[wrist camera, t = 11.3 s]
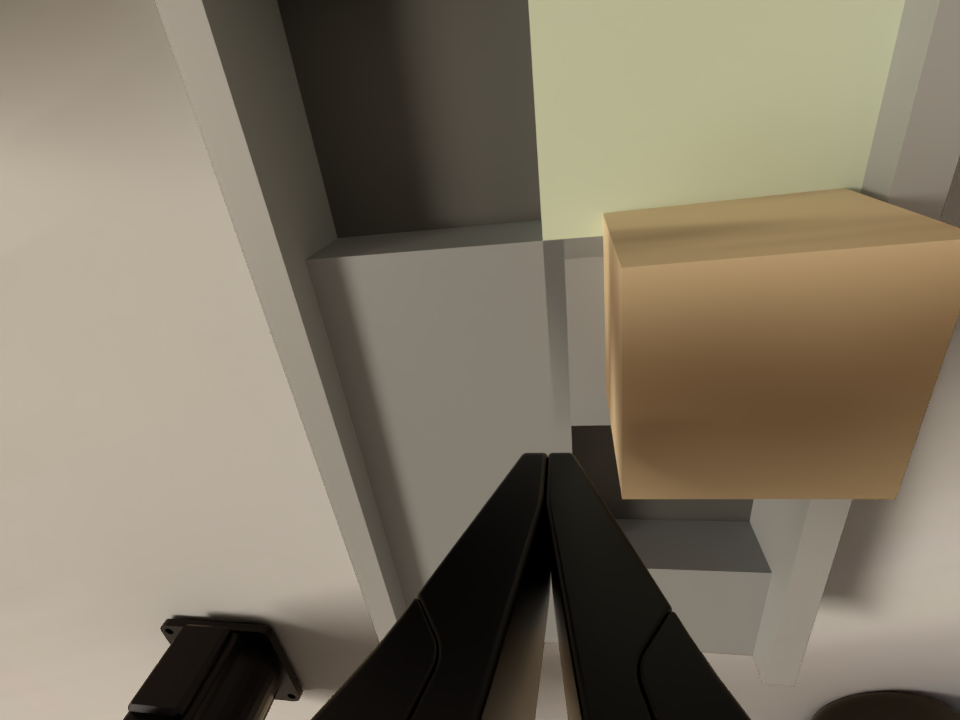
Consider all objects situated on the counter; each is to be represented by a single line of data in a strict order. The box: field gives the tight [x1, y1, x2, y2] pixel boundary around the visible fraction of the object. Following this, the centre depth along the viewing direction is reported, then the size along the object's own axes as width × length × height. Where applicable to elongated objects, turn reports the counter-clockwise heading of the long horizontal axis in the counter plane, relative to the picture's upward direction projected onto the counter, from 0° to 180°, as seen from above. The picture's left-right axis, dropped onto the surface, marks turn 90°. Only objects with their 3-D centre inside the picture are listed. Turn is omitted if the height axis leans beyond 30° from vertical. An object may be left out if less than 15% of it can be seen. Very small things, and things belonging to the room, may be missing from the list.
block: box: [603, 188, 960, 499], centre depth 10 cm, size 5×5×4 cm
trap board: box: [154, 0, 960, 686], centre depth 14 cm, size 24×15×4 cm, turn 7°
